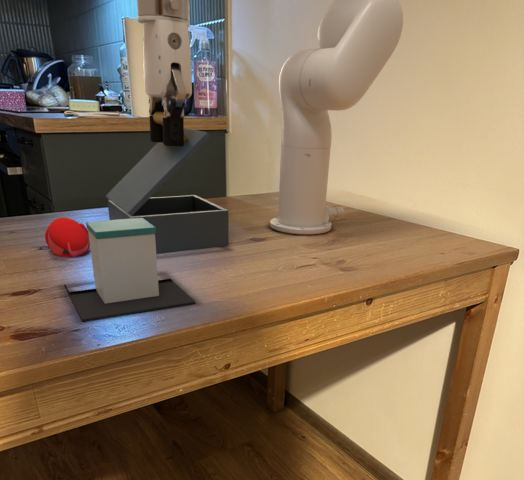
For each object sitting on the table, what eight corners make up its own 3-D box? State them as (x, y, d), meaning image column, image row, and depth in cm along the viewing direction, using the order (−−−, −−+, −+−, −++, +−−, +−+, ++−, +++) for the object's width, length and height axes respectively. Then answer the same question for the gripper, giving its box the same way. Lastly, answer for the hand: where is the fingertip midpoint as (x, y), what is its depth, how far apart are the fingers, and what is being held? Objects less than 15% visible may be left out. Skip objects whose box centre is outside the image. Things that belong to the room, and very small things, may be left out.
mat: (163, 273, 74) (163, 271, 74) (195, 303, 64) (195, 301, 64) (64, 286, 68) (64, 284, 68) (82, 321, 58) (82, 319, 58)
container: (147, 282, 69) (142, 217, 65) (160, 296, 65) (155, 227, 61) (94, 289, 66) (85, 221, 62) (104, 304, 62) (95, 232, 58)
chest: (196, 230, 98) (195, 194, 95) (228, 250, 86) (228, 210, 83) (111, 238, 91) (107, 200, 88) (133, 260, 79) (129, 217, 76)
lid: (177, 129, 88) (155, 102, 85) (210, 136, 77) (187, 105, 73) (108, 199, 88) (84, 174, 84) (131, 216, 76) (104, 189, 73)
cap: (101, 257, 80) (96, 220, 77) (65, 265, 76) (59, 225, 73) (76, 247, 85) (71, 211, 82) (42, 253, 81) (35, 216, 78)
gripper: (209, 9, 68) (208, 149, 76) (169, 22, 82) (171, 140, 90) (156, 0, 65) (160, 148, 73) (123, 15, 78) (129, 139, 86)
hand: (166, 142), depth 81 cm, fingers closed on lid, 6 cm apart
